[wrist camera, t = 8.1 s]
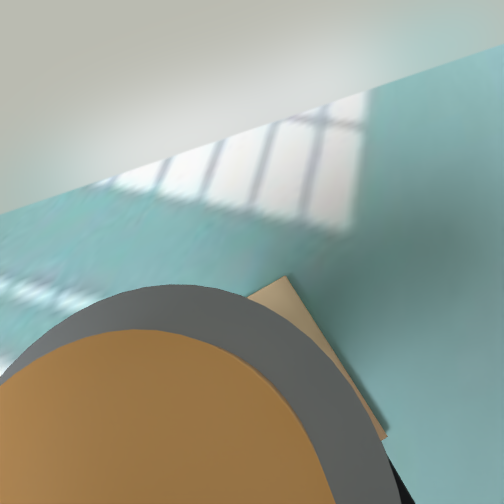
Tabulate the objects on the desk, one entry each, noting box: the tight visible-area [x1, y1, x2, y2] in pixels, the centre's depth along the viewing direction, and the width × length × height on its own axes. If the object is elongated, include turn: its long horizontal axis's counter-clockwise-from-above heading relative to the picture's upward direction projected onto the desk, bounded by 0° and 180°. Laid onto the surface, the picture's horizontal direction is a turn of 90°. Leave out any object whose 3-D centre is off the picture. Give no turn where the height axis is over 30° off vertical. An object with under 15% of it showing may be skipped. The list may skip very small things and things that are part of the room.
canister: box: [0, 285, 401, 504], centre depth 9 cm, size 6×6×13 cm
